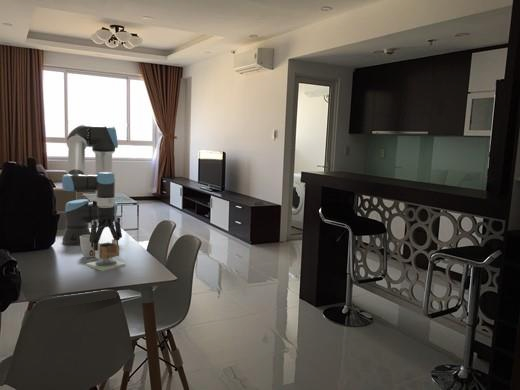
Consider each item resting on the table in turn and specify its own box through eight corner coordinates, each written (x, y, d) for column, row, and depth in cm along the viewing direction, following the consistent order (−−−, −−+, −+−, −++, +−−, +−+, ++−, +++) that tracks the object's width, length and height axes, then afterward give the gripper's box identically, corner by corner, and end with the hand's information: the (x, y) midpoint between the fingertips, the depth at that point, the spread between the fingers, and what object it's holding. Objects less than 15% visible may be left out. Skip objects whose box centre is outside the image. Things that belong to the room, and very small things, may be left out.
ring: (93, 255, 195) (93, 245, 194) (108, 252, 201) (108, 242, 201) (103, 259, 190) (103, 248, 190) (119, 255, 197) (119, 245, 196)
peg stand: (86, 265, 195) (86, 247, 194) (109, 260, 205) (109, 243, 204) (102, 271, 188) (102, 252, 187) (125, 265, 198) (125, 247, 197)
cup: (91, 259, 205) (91, 238, 204) (76, 257, 207) (76, 237, 206) (100, 254, 213) (100, 235, 212) (86, 253, 215) (86, 233, 214)
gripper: (89, 209, 182) (90, 261, 185) (130, 205, 199) (130, 252, 202) (79, 207, 187) (80, 258, 190) (120, 203, 203) (120, 249, 206)
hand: (106, 255), depth 196 cm, fingers closed on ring, 8 cm apart
